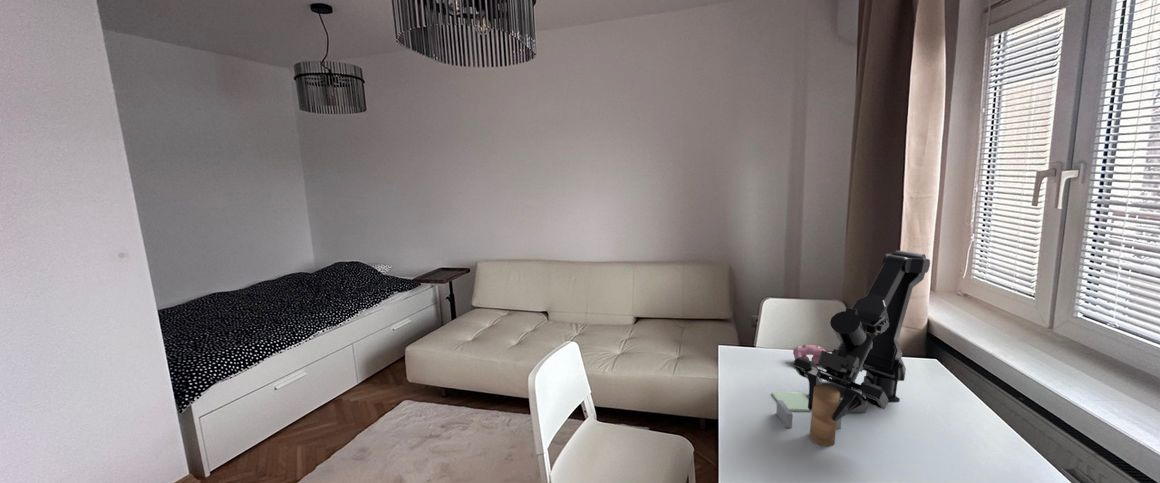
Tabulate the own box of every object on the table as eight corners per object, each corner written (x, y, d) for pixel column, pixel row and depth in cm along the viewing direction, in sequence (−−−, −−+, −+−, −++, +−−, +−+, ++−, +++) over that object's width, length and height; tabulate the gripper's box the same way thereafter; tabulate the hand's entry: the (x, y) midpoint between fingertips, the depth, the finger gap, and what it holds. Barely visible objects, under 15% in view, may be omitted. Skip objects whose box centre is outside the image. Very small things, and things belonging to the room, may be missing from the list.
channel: (827, 413, 108) (829, 400, 107) (840, 428, 102) (842, 414, 101) (776, 413, 108) (777, 400, 108) (786, 427, 102) (787, 414, 102)
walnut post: (827, 432, 100) (832, 384, 98) (839, 446, 96) (844, 396, 93) (805, 432, 101) (809, 384, 98) (815, 446, 96) (820, 396, 93)
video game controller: (826, 368, 133) (823, 345, 135) (833, 369, 129) (830, 344, 131) (792, 368, 134) (790, 344, 136) (798, 368, 130) (795, 344, 132)
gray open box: (845, 393, 116) (846, 381, 116) (865, 412, 108) (866, 400, 107) (810, 393, 117) (811, 381, 116) (827, 412, 108) (829, 399, 107)
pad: (802, 394, 117) (802, 392, 116) (816, 411, 109) (816, 409, 109) (771, 393, 117) (771, 392, 117) (783, 410, 109) (783, 409, 109)
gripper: (799, 324, 103) (769, 381, 99) (888, 352, 88) (857, 420, 84) (814, 347, 109) (786, 401, 105) (900, 377, 94) (871, 441, 90)
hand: (821, 414), depth 96 cm, fingers closed on walnut post, 5 cm apart
